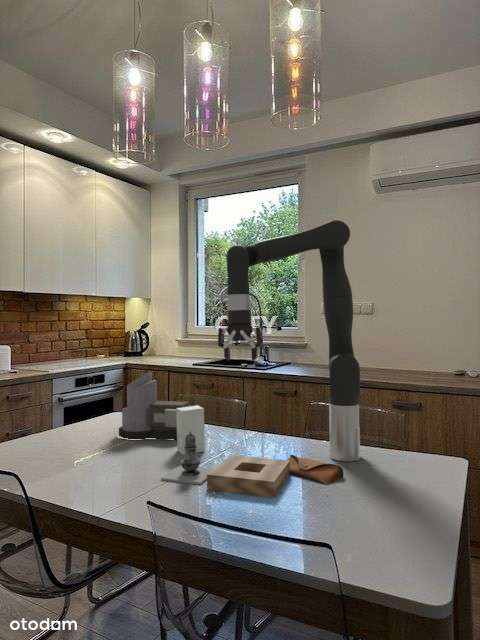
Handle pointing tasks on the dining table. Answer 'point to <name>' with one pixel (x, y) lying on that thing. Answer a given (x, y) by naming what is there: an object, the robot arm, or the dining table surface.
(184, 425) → the skincare box
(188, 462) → the grey stone ornament
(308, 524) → the dining table surface
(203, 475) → the grey mat
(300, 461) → the sunglasses case
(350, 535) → the dining table surface
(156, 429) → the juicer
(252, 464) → the pocket holder
